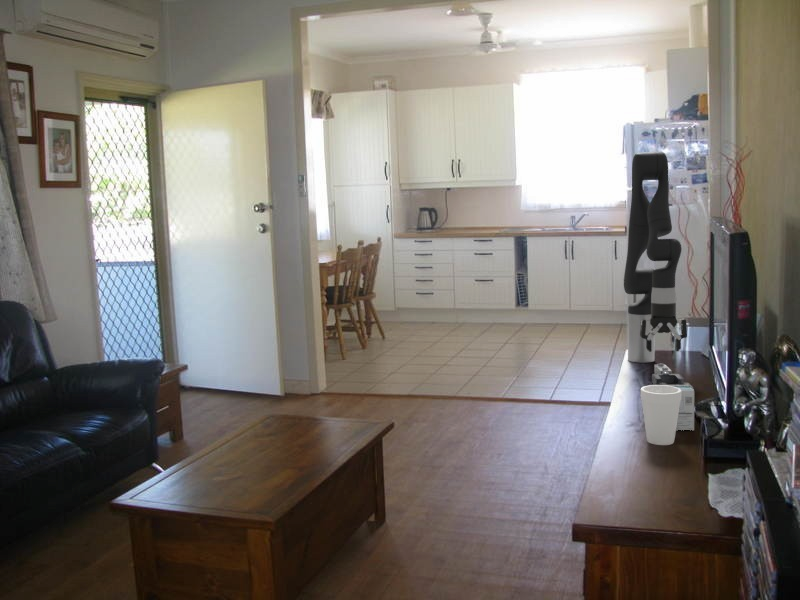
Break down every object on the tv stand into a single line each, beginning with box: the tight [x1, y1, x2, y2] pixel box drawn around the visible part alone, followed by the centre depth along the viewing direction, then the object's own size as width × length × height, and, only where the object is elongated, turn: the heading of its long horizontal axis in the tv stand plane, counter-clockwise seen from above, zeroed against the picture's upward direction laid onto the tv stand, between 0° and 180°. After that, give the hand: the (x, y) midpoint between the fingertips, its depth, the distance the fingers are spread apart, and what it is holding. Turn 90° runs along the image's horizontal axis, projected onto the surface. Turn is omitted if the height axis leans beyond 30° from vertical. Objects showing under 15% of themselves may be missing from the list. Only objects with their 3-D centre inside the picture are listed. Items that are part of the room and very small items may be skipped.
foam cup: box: [640, 384, 682, 446], centre depth 201 cm, size 10×9×13 cm
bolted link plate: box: [653, 362, 673, 374], centre depth 267 cm, size 10×3×4 cm, turn 174°
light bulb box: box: [647, 384, 695, 432], centre depth 212 cm, size 11×7×11 cm, turn 84°
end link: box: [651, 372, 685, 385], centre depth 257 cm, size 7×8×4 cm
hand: (663, 351), depth 265 cm, fingers open, 8 cm apart
